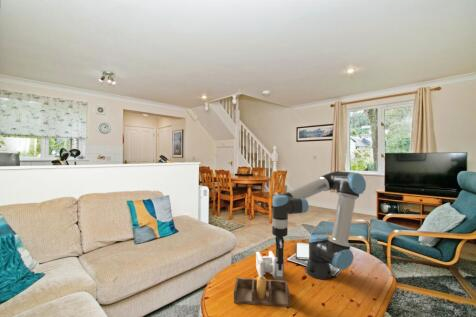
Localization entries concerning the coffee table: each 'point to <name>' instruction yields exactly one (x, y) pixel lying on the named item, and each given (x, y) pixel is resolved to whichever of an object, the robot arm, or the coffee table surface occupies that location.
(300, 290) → the coffee table surface
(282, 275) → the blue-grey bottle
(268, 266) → the cable organizer
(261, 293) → the yellow knobbed cylinder
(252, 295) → the brown compartment tray
